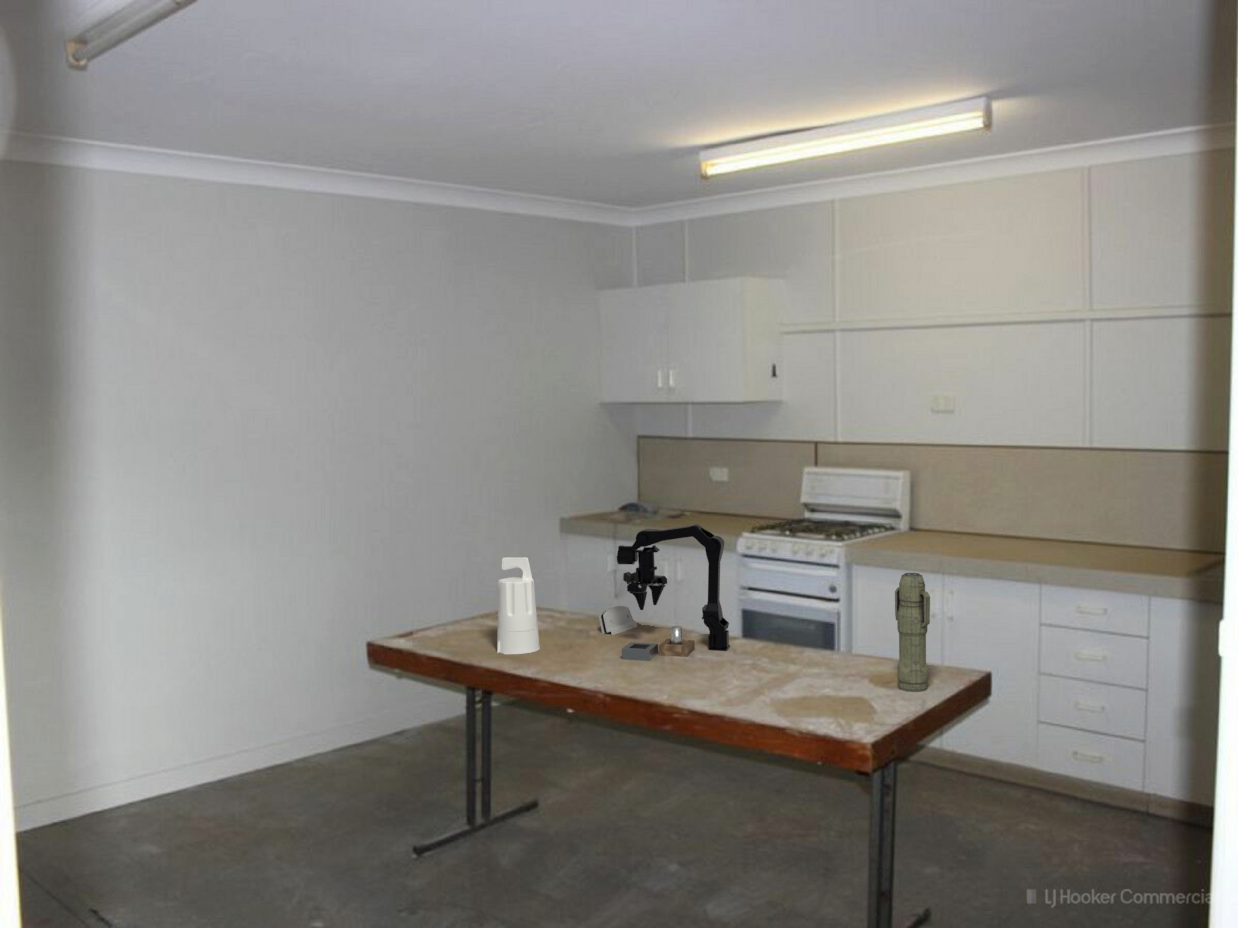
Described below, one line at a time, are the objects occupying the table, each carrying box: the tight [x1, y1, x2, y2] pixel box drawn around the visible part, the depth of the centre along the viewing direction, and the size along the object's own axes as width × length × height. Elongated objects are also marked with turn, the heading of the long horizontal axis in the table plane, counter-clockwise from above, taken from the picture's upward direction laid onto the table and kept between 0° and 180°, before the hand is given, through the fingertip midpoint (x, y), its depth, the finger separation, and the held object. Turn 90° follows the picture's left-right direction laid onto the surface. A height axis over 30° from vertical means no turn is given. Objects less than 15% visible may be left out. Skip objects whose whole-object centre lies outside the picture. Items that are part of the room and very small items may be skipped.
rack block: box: [621, 641, 659, 662], centre depth 388 cm, size 10×10×4 cm
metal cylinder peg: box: [670, 625, 683, 645], centre depth 392 cm, size 4×4×9 cm
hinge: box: [598, 605, 639, 636], centre depth 430 cm, size 17×5×10 cm, turn 143°
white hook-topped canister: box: [496, 556, 541, 656], centre depth 402 cm, size 15×15×33 cm
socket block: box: [658, 638, 696, 658], centre depth 392 cm, size 10×10×4 cm
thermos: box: [894, 572, 931, 693], centre depth 340 cm, size 9×12×35 cm
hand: (648, 607), depth 402 cm, fingers open, 9 cm apart
